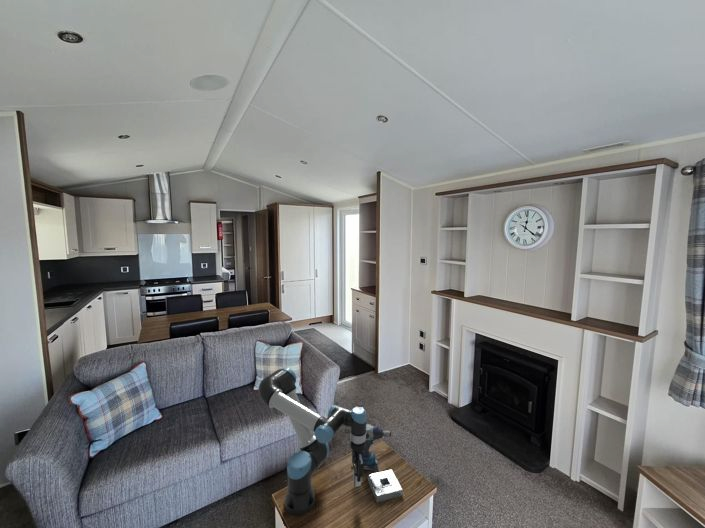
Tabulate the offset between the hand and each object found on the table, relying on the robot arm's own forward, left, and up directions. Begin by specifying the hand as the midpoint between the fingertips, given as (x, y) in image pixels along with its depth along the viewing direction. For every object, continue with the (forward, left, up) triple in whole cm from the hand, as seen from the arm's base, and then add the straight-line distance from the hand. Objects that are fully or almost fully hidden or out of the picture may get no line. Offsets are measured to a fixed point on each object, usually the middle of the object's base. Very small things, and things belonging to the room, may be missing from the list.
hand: (356, 482), depth 157 cm
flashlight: (0, 0, -2) cm, 2 cm away
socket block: (+16, +4, -10) cm, 20 cm away
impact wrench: (+14, +20, -11) cm, 26 cm away
